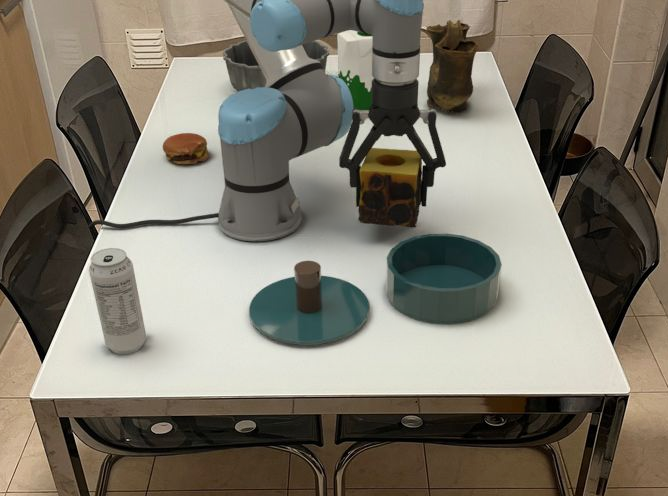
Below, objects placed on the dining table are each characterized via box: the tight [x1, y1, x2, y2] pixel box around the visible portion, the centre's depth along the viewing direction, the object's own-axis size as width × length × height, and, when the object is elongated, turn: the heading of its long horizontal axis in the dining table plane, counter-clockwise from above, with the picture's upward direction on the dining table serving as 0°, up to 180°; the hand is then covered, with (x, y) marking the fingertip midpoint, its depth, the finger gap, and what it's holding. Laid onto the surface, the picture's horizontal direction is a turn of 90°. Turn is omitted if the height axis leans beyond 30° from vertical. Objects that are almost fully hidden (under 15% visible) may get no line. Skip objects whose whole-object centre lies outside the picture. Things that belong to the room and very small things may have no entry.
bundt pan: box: [222, 39, 330, 92], centre depth 208 cm, size 26×26×10 cm
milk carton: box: [336, 30, 374, 110], centre depth 192 cm, size 9×9×20 cm
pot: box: [385, 233, 503, 325], centre depth 132 cm, size 18×18×6 cm
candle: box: [357, 147, 423, 229], centre depth 145 cm, size 10×10×10 cm
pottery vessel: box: [425, 19, 479, 115], centre depth 194 cm, size 25×11×20 cm, turn 0°
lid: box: [248, 260, 370, 346], centre depth 127 cm, size 19×19×8 cm
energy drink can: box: [88, 247, 147, 355], centre depth 120 cm, size 6×6×15 cm
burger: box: [162, 132, 210, 165], centre depth 177 cm, size 10×9×5 cm
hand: (390, 203), depth 146 cm, fingers closed on candle, 11 cm apart
